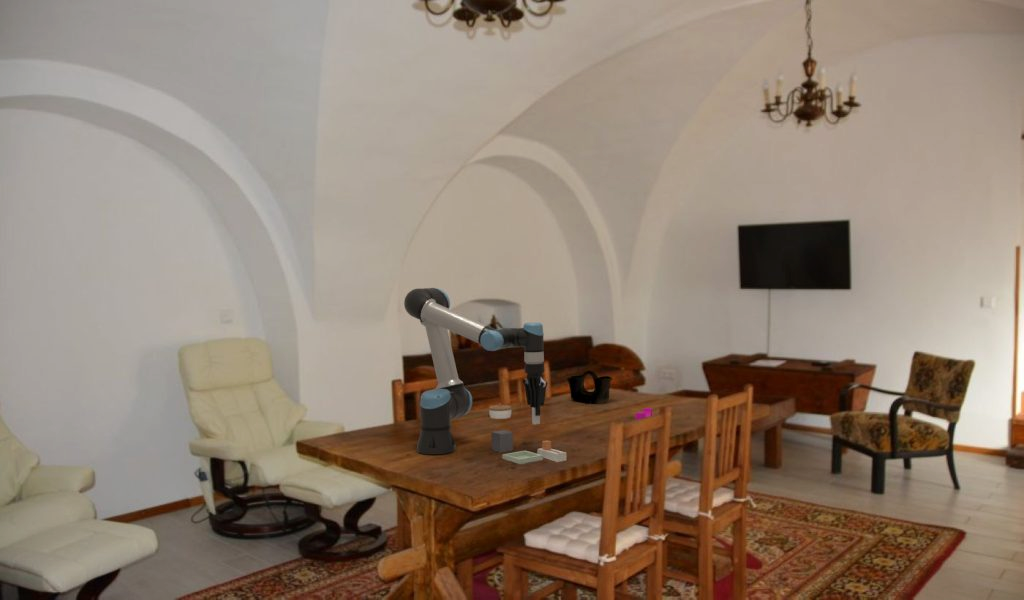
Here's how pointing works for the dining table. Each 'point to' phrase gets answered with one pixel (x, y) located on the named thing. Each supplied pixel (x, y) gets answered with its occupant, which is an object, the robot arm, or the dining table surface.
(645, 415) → the toy block
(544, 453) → the breaker housing
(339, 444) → the dining table surface
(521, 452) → the tray
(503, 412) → the lidded jar
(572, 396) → the black handbag
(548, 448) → the breaker switch
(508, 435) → the grey rectangular block
